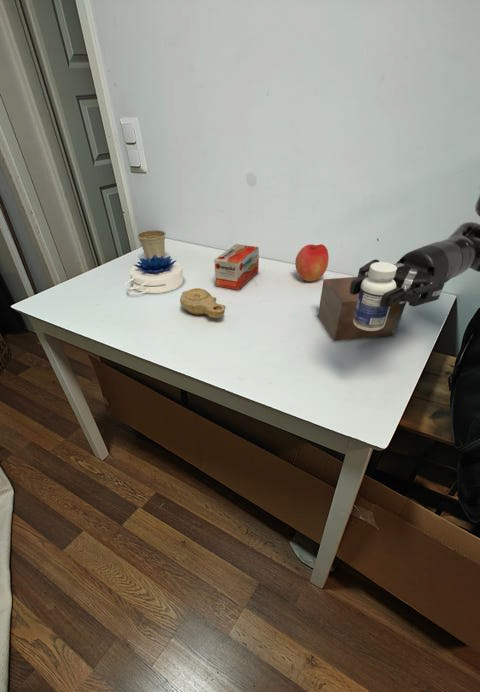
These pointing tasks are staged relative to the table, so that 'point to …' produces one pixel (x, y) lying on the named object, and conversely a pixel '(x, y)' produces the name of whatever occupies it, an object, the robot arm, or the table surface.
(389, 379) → the table surface
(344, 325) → the cabinet
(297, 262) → the apple
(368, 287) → the pill bottle
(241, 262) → the medicine box
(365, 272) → the robot arm
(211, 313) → the oil lamp
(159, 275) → the lotus flower trinket box
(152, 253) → the flower pot
